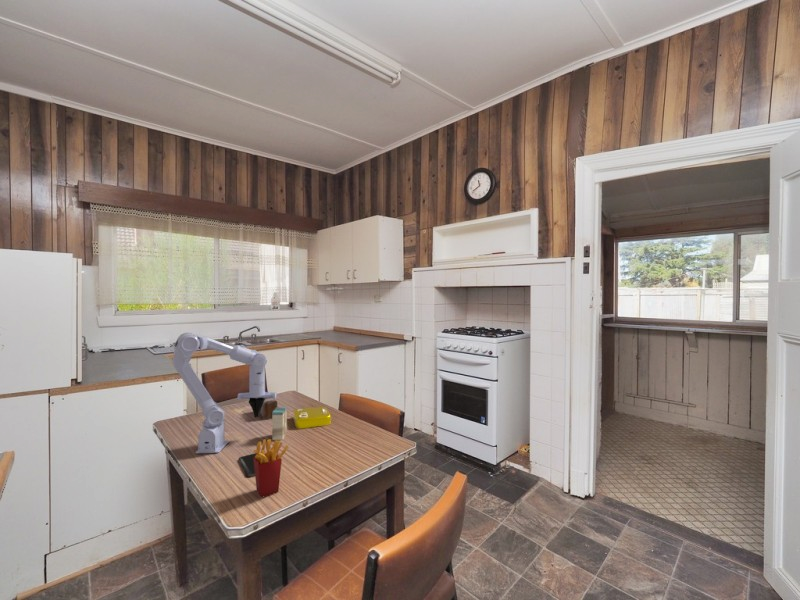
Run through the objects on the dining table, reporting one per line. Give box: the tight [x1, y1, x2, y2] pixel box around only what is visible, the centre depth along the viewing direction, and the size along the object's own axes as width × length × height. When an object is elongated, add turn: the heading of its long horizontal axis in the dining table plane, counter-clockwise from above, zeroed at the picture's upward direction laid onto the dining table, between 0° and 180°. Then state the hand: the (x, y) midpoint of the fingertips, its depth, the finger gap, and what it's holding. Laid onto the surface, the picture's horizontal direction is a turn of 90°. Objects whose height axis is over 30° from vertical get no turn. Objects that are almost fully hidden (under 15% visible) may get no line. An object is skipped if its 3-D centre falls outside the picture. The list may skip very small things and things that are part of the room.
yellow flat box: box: [293, 405, 332, 430], centre depth 158 cm, size 15×15×5 cm
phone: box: [238, 451, 261, 479], centre depth 117 cm, size 8×1×15 cm
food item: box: [260, 398, 279, 420], centre depth 166 cm, size 14×8×10 cm, turn 34°
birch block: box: [271, 406, 287, 441], centre depth 140 cm, size 6×4×11 cm, turn 5°
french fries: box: [253, 438, 290, 498], centre depth 103 cm, size 9×8×15 cm
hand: (257, 416), depth 140 cm, fingers closed
